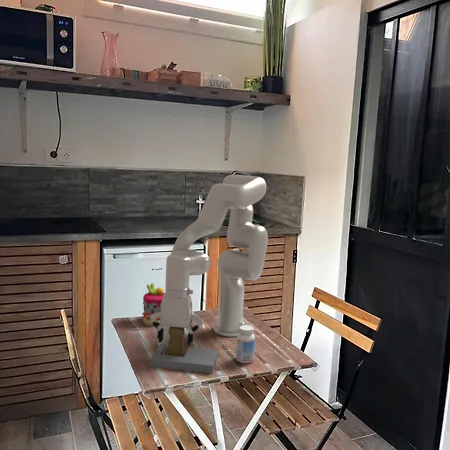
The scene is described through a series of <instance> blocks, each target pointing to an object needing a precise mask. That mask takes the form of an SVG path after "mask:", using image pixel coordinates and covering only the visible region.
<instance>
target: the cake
mask: <svg viewBox="0 0 450 450" xmlns="http://www.w3.org/2000/svg"><path fill="white" fill-rule="evenodd" d="M146 288H147V289H148V290H147V291H148V292H147V293H144V295H143V297H142V299H143V300H142V305H143V313H142V316H143V317H142V321H143V322H144V323H145V324H144V323H143V324H144V325H145V326H148V325H150V326H151V327H154V325H153V323H152V321H151V319H150V316H151V315H153V314H155V313H158V312H160V311H161V305H162V299H163V296H164V294H165V289H164V288H163V287H158V288H157V287H156V288H155V284H154V282H153V283H150V284H147V285H146ZM156 321H157V322H158V323H159V324H160V316H159V317H157V318H156ZM150 326H149V327H150Z"/></svg>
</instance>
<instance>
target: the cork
mask: <svg viewBox="0 0 450 450" xmlns="http://www.w3.org/2000/svg"><path fill="white" fill-rule="evenodd" d="M169 335H170V340H169V346H168V349H167V351H166V352H167V354H166V355H171V356H180V357H184V356H185V345H184V335H185V328H179V327H170V328H169Z"/></svg>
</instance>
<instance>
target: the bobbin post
mask: <svg viewBox="0 0 450 450" xmlns="http://www.w3.org/2000/svg"><path fill="white" fill-rule="evenodd" d="M169 328H170V327H169V326H163V329H164V332H163V340H162V342H161V343H159V340H158V341H157V348H158V347H159V345H160V344H166V350H168V346H169V340H170V335H169Z"/></svg>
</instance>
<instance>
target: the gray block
mask: <svg viewBox="0 0 450 450" xmlns="http://www.w3.org/2000/svg"><path fill="white" fill-rule="evenodd" d="M166 352H167V349H166V344H160V345H159V347H158V346H157V348H156V350H155V351H154V353H153V354H152V355H151V357H150V359H149V360H150V361H149V367H150V368H151V367H152V368H161V369H169V370H178V371H179V370H180V371H187V372H188V371H189V372H196V373H206V374H213V373H214V370H215V368H216V365H217V363H218V362H217V361H218V359H219V349H215V348H204V347H196V346H195V347H194V346H189V347H188V348H187V350H186V352H185V353H184V355H185V356H184V357H180V356H171V355H167V354H166Z"/></svg>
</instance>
